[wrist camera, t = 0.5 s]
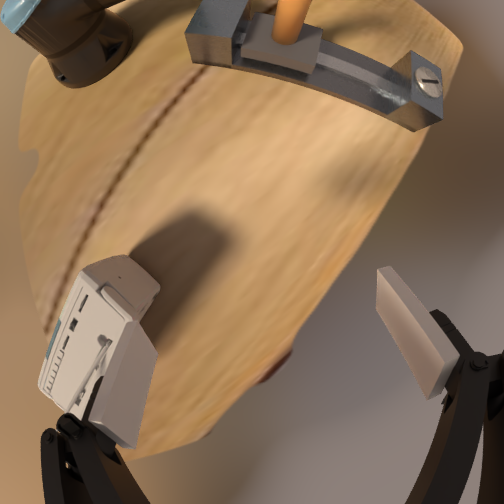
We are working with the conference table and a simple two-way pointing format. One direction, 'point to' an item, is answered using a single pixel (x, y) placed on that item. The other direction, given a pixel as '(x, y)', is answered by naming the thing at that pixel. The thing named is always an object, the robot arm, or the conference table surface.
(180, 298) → the conference table surface
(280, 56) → the carriage
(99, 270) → the stereo radio cassette player
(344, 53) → the rail
